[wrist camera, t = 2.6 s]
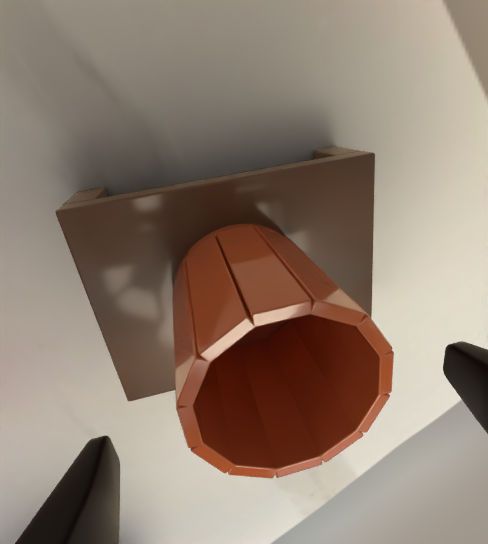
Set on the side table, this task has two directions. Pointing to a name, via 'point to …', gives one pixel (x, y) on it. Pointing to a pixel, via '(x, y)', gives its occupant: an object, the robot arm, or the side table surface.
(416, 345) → the side table surface
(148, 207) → the shelf
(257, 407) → the cup
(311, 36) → the side table surface
